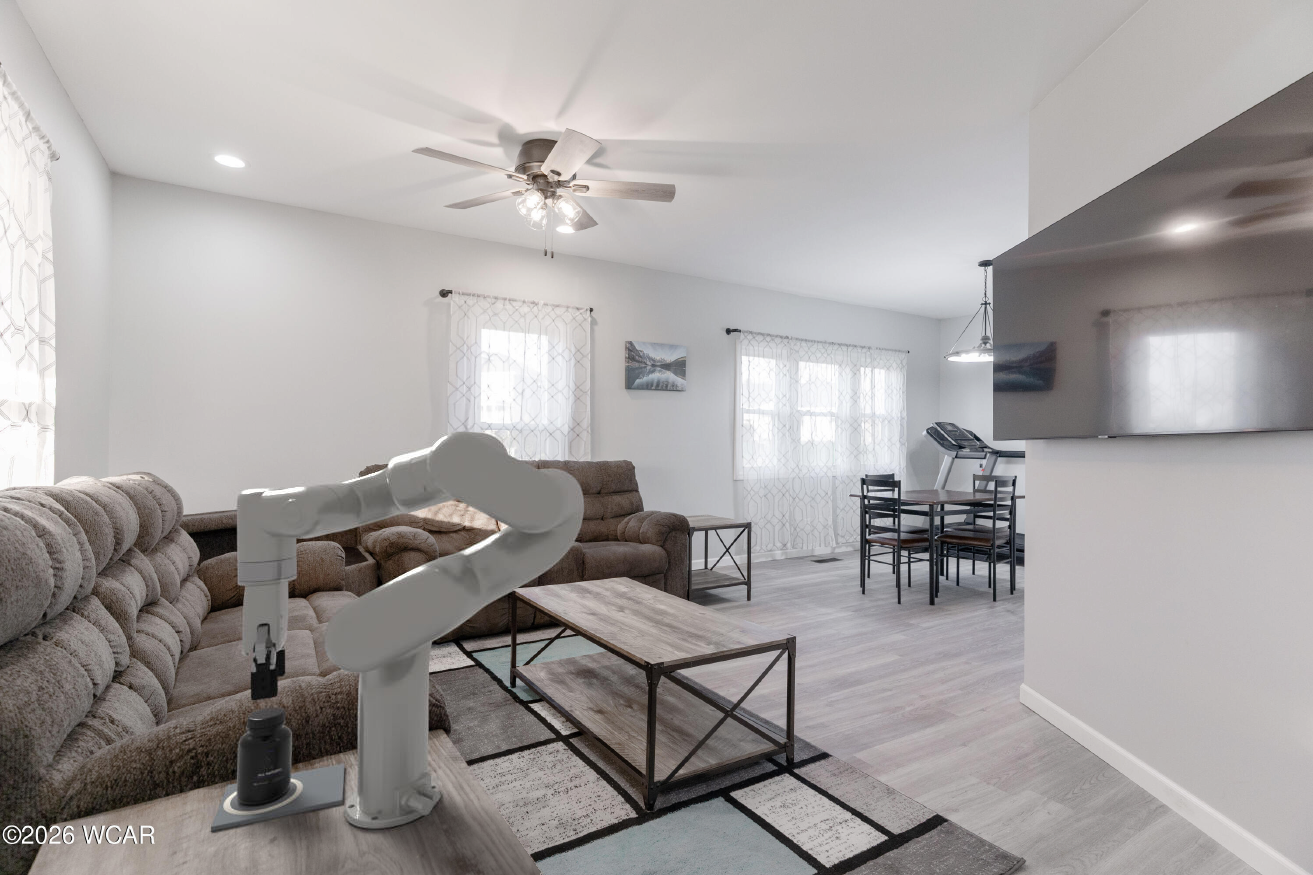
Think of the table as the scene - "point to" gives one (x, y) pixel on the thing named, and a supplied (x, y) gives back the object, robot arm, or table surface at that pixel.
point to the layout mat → (285, 798)
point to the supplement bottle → (264, 758)
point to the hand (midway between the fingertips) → (269, 687)
